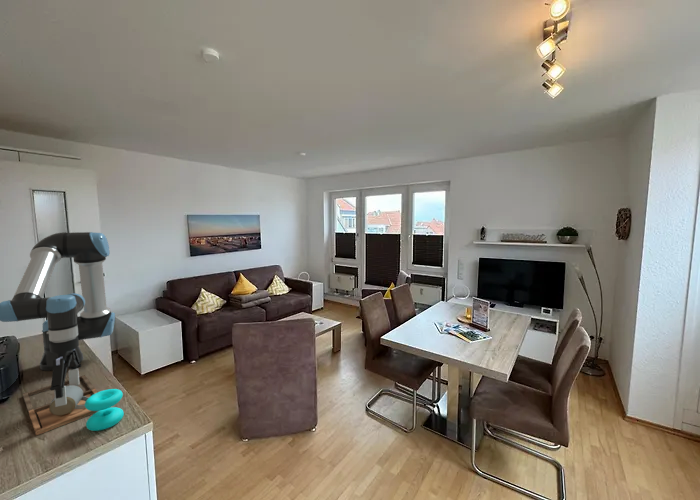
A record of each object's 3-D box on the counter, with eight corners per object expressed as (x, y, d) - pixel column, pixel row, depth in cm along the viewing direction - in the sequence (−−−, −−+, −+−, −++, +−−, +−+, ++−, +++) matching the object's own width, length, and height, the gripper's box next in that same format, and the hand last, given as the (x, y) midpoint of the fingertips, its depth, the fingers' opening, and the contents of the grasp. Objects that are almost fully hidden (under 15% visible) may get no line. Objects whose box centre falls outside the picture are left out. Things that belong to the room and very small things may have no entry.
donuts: (119, 384, 108) (125, 395, 101) (120, 409, 109) (126, 422, 102) (82, 395, 100) (86, 407, 94) (84, 423, 101) (88, 437, 94)
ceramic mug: (48, 420, 102) (47, 398, 101) (56, 407, 109) (55, 387, 108) (88, 411, 107) (87, 391, 106) (94, 399, 114) (93, 380, 114)
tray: (22, 396, 116) (22, 393, 116) (84, 377, 131) (84, 375, 130) (36, 435, 95) (35, 432, 95) (108, 407, 110) (108, 404, 109)
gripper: (63, 329, 114) (66, 380, 116) (33, 354, 93) (38, 418, 95) (88, 326, 118) (91, 376, 120) (65, 350, 96) (69, 411, 98)
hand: (68, 395), depth 107 cm, fingers open, 13 cm apart
